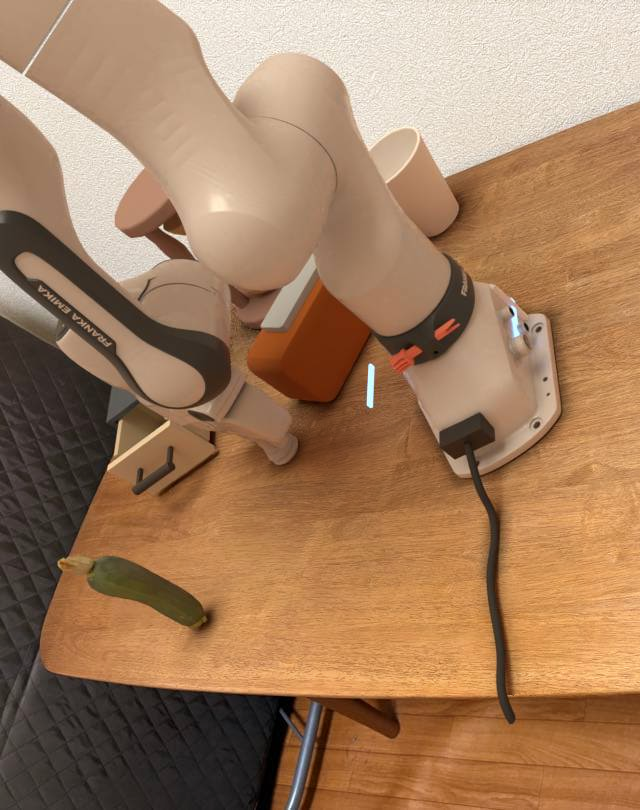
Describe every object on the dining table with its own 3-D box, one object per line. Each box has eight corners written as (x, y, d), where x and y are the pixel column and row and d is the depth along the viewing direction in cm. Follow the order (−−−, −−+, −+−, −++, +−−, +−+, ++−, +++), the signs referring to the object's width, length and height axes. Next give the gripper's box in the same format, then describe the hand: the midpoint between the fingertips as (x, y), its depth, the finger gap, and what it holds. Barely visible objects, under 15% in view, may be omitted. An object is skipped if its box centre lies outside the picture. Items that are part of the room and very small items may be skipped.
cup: (446, 252, 117) (388, 191, 108) (394, 248, 125) (337, 192, 116) (486, 186, 120) (433, 122, 112) (434, 187, 128) (381, 127, 120)
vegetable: (199, 604, 105) (52, 541, 92) (224, 594, 104) (78, 528, 90) (192, 637, 103) (40, 578, 89) (217, 628, 101) (66, 565, 87)
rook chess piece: (278, 472, 111) (231, 444, 106) (273, 452, 114) (227, 423, 109) (303, 451, 111) (257, 421, 105) (296, 431, 114) (252, 401, 108)
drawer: (213, 474, 118) (167, 448, 112) (151, 519, 121) (103, 495, 115) (216, 384, 131) (175, 357, 125) (160, 426, 134) (117, 401, 128)
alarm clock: (370, 266, 126) (317, 216, 118) (408, 264, 121) (354, 211, 113) (295, 404, 117) (232, 360, 110) (331, 408, 112) (268, 362, 104)
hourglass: (241, 348, 134) (104, 249, 117) (246, 281, 146) (122, 182, 129) (325, 291, 129) (194, 179, 112) (323, 226, 141) (205, 115, 124)
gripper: (133, 403, 107) (219, 454, 116) (217, 416, 94) (306, 472, 103) (160, 361, 109) (242, 415, 118) (245, 368, 96) (330, 427, 105)
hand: (273, 441), depth 111 cm, fingers closed on rook chess piece, 3 cm apart
